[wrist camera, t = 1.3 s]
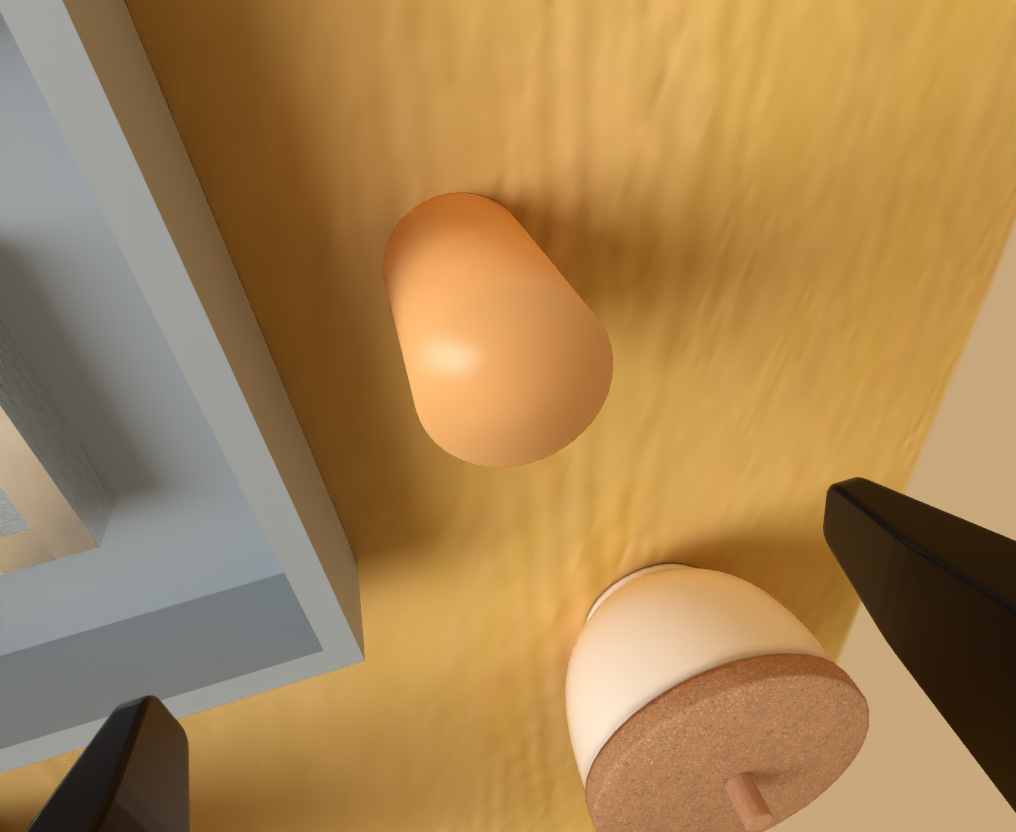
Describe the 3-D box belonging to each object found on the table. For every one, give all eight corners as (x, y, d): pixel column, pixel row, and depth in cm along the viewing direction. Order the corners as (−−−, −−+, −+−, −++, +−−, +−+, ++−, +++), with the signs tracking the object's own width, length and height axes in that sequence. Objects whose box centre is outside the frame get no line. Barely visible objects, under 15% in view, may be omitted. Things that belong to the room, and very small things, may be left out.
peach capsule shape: (539, 315, 22) (620, 437, 17) (404, 351, 22) (439, 489, 16) (517, 176, 20) (604, 262, 14) (365, 213, 19) (389, 318, 14)
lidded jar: (803, 542, 31) (964, 729, 24) (684, 699, 36) (787, 899, 28) (602, 500, 27) (720, 712, 19) (495, 684, 32) (556, 916, 24)
